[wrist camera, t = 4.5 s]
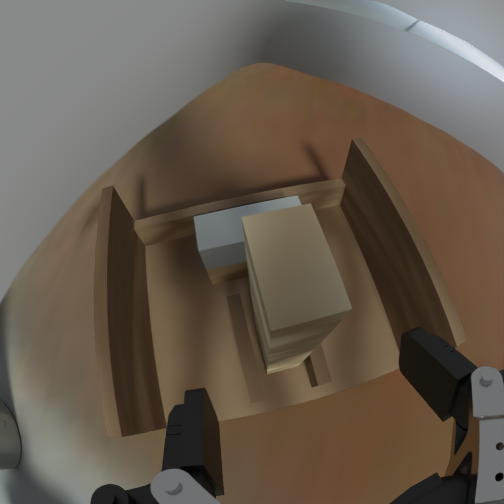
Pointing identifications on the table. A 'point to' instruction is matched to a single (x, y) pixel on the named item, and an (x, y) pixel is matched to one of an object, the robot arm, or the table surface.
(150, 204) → the table surface
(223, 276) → the oak offcut
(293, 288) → the tan wooden bar
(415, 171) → the table surface
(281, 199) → the grey offcut
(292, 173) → the table surface
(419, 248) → the brown wooden tray
